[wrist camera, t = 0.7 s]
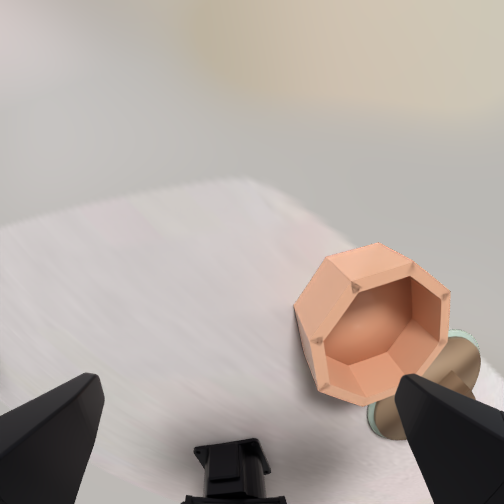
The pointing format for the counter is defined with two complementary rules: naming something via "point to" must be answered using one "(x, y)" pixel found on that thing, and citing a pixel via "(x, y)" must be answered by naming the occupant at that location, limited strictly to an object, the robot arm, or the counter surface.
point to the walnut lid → (441, 372)
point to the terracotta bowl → (370, 323)
